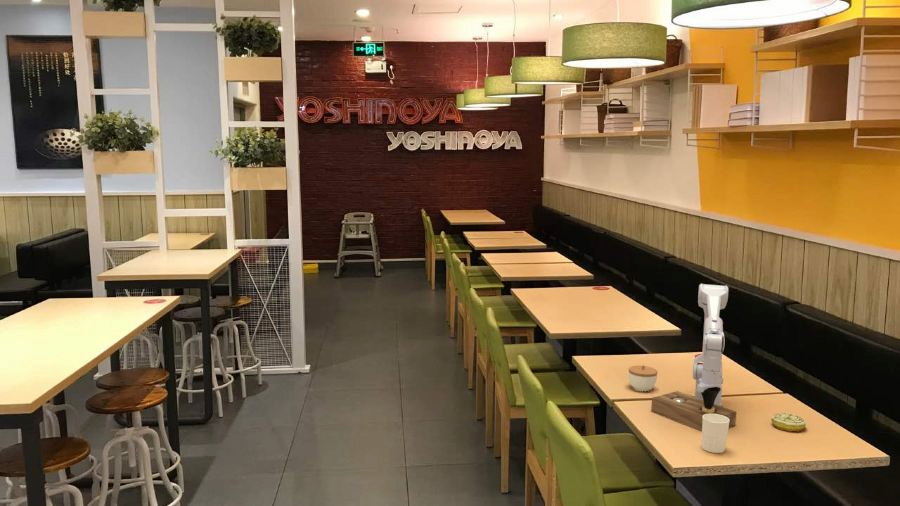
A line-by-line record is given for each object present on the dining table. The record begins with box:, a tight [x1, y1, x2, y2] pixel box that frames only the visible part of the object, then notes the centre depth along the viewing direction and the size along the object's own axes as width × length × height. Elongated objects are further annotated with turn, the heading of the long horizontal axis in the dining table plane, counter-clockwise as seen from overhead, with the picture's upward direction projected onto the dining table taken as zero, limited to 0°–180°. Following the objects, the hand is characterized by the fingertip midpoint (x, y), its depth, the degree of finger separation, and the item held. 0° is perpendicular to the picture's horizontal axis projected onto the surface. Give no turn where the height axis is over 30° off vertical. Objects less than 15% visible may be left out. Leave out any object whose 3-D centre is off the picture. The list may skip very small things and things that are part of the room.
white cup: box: [701, 414, 730, 454], centre depth 228 cm, size 8×8×10 cm
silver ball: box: [673, 398, 685, 402], centre depth 258 cm, size 4×4×4 cm
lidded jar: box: [628, 364, 659, 393], centre depth 282 cm, size 11×11×9 cm
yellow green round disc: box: [770, 412, 807, 432], centre depth 248 cm, size 10×11×4 cm
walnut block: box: [650, 390, 737, 432], centre depth 253 cm, size 14×24×5 cm, turn 35°
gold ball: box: [702, 406, 715, 413], centre depth 248 cm, size 4×4×4 cm
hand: (708, 407), depth 248 cm, fingers closed, pressing on gold ball
